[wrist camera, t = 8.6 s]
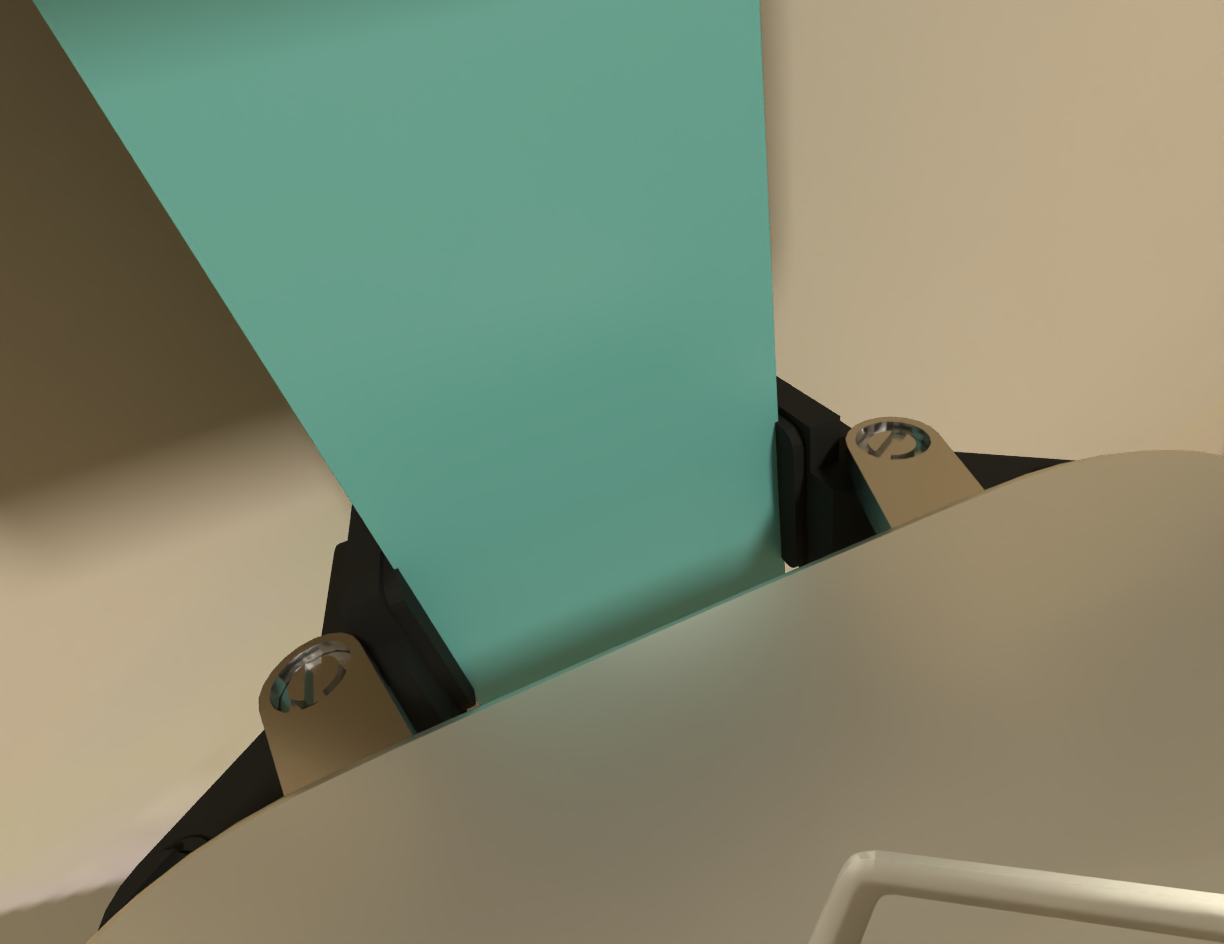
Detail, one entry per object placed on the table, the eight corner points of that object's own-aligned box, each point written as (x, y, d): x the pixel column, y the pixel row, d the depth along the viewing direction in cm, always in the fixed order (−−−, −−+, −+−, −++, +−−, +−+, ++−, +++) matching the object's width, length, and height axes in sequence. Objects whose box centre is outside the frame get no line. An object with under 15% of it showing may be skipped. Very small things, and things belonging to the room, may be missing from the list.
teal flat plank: (534, -515, 6) (699, -1304, 3) (712, 593, 16) (790, 706, 13) (-82, -459, 5) (-957, -1555, 2) (520, 675, 15) (553, 820, 12)
